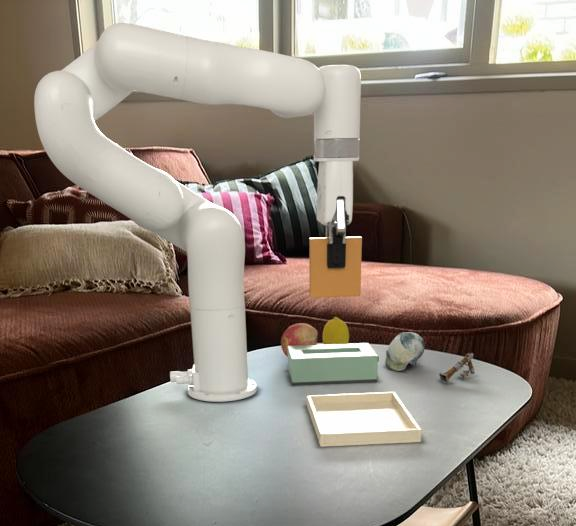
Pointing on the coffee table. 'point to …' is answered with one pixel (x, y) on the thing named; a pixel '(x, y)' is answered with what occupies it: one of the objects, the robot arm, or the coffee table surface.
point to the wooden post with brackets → (457, 367)
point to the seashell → (404, 350)
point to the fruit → (298, 336)
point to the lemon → (335, 332)
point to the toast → (334, 270)
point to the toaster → (332, 364)
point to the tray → (362, 419)
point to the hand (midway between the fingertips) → (335, 266)
